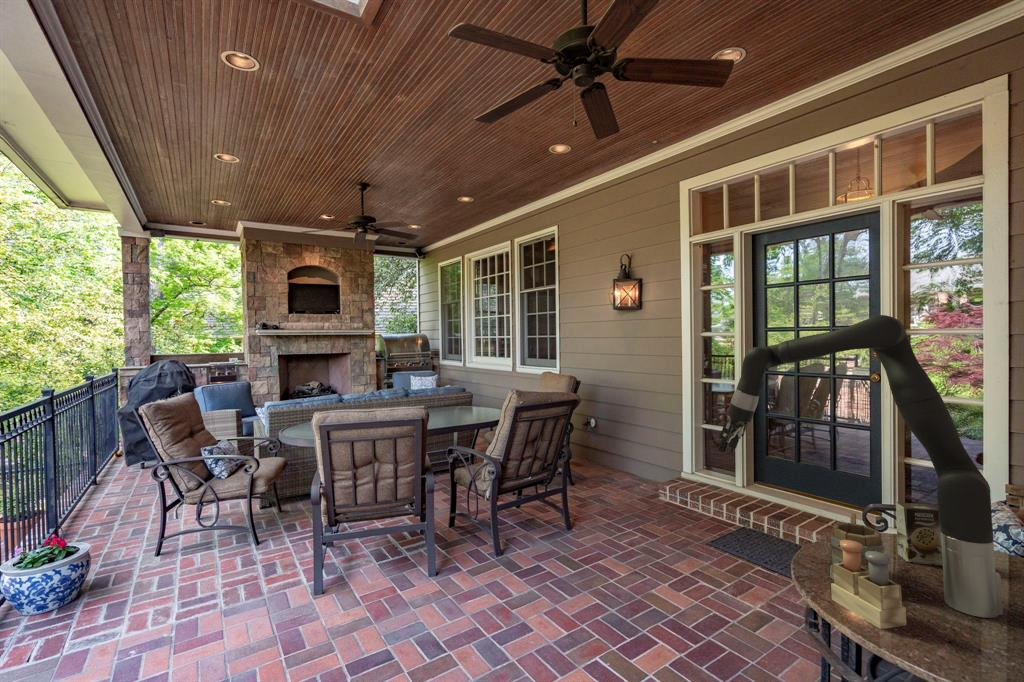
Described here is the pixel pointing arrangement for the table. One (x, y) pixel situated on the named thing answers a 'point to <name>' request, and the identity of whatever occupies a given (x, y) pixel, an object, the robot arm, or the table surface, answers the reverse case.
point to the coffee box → (919, 533)
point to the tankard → (854, 533)
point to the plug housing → (868, 597)
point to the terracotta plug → (851, 555)
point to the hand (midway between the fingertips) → (727, 449)
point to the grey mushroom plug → (878, 567)
